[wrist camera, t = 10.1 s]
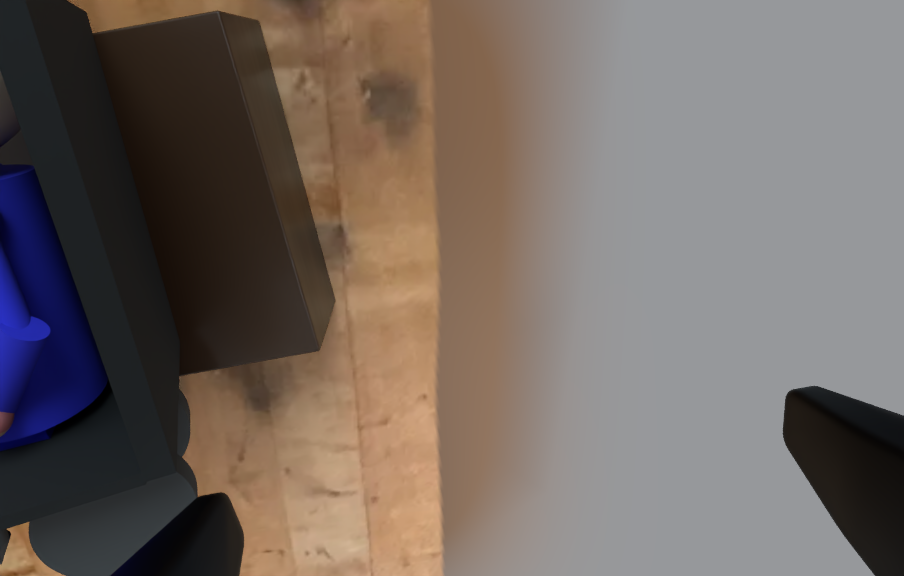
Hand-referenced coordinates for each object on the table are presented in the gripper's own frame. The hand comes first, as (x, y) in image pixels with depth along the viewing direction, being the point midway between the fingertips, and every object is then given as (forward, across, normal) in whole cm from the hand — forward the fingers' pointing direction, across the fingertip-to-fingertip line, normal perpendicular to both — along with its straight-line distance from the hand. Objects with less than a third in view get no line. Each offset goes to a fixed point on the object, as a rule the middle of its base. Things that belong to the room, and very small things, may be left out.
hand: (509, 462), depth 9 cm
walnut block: (+13, +10, -3) cm, 17 cm away
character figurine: (+9, +10, -3) cm, 14 cm away
